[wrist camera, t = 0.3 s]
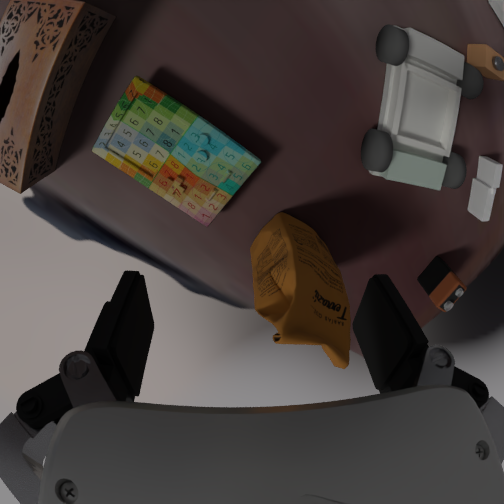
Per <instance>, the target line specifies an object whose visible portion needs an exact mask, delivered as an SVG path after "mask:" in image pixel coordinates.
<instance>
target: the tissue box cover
mask: <svg viewBox="0 0 504 504" xmlns="http://www.w3.org/2000/svg"><path fill="white" fill-rule="evenodd" d="M115 18H116V16H114V15H112V14H110V13H108V12H106V11H103V10H101V9H99V8H97V7H95V6H93V5H90V4H88V3H86V2H81V1H75V0H11V1H10V2H9V4H8V6H7V8H6V11H5V13H4V15H3V17H2V19H1V21H0V183H2V184H3V185H5V186H7V187H9V188H11V189H12V190H14V191H16V192H18V193H20V194H21V193H22V192H24V191H25V190H27V189H28V188H30V187H31V186H32V185H34V184H35V183H37V182H38V181H40V180H41V179H43V178H44V177H46V176H48V175H49V174H51V173H52V172H54V171H55V168H56V164H57V160H58V156H59V152H60V149H61V145H62V142H63V138H64V135H65V132H66V128H67V125H68V122H69V119H70V116H71V113H72V111H73V108H74V105H75V102H76V100H77V97H78V94H79V92H80V89H81V87H82V84H83V82H84V80H85V77H86V75H87V73H88V70H89V68H90V66H91V64H92V62H93V59H94V57H95V55H96V53H97V51H98V49H99V47H100V45H101V43H102V41H103V39H104V38H105V36H106V34H107V32H108V30H109V28H110V27H111V25H112V23H113V21H114V20H115Z"/></svg>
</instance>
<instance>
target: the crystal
mask: <svg viewBox="0 0 504 504" xmlns="http://www.w3.org/2000/svg"><path fill="white" fill-rule="evenodd" d="M488 1H489V4H490V5H491V7H492V8H493V10H494V12H495V13H496V15H497V16H498V18H499V20H500V22H501V23H502V25H503V27H504V0H488Z"/></svg>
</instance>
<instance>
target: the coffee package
mask: <svg viewBox="0 0 504 504" xmlns="http://www.w3.org/2000/svg"><path fill="white" fill-rule="evenodd" d="M250 252H251V258H252V259H251V262H252V268H253V274H252V275H253V288H254V295H255V297H254V301H255V310H256V311H257V312H258V314H259V315H261V316H262V317H263V318H265V319H266V320H268V321H269V322H271V323H272V324H273V325H274V326H275V327H276V328H277V330H278V333H276V334H275V335H273V340H274V342H275V343H278V344H307V345H322V348H323V350H324V351H325V353H326V354H327V355H328V357H329V358H330V360H331V361H332V363H333V365H334V366H336V367H339V368H342V369H345V368H346V367H347V366H348V365H349V350H350V340H351V339H350V322H351V319H350V305H349V301H348V297H347V294H346V290H345V286H344V283H343V280H342V276H341V272H340V270H339V268H338V267H337V265H336V264H335V262H334V260H333V259H332V256H331V254H330V252H329V250H328V248H327V246H326V244H325V243H324V241H323V240H321V239H320V238H319V236H318V235H317V233H316V232H315V231H314V230H313V229H312V228H311V227H309V226H308V225H306V224H305V223H303V222H301V221H300V220H298V219H295V218H294V217H292V216H290V215H288V214H286V213H283V212H280V213H278V214H276V215H275V216H274V217H273V219H272V220H271V221H269V222H268V223H267V224H266V225H265V226H264V227H263V228H262V229H261V231H260V232H259V234H258V236H257V237H256V238H255V240H254V242H253V244H252V246H251V248H250Z"/></svg>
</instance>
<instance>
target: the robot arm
mask: <svg viewBox="0 0 504 504" xmlns="http://www.w3.org/2000/svg"><path fill="white" fill-rule="evenodd" d="M153 331H154V320H153V316H152V312H151V307H150V303H149V298H148V294H147V288H146V283H145V279H144V275H140V273H139V271H124V273H123V275H122V277H121V279H120V281H119V284H118V286H117V288H116V290H115V292H114V294H113V297H112V299H111V301H110V302H108V301H107V302H106V303H105V304H104V306H103V309H102V310H101V313H100V315H99V317H98V320H97V322H96V324H95V327H94V329H93V331H92V334H91V336H90V338H89V341H88V343H87V346H86V348H85V351H74V352H71V353H69V354H68V355H66V356H65V357H64V358H63V359H62V361H61V363H60V366H59V372H60V373H59V374H57V375H55V376H54V377H52V378H50V379H48V380H46V381H45V382H43V383H41V384H39V385H38V386H36V387H34V388H32V389H30V390H28V391H26V392H25V393H23V394H22V395H21V396H20V398H19V399H18V402H17V406H16V410H17V411H16V413H14V414H13V413H12V412H11V413H10V414H9V415H8V416H7V417H6V418H5V419H4V420H3V422H2V423H1V424H0V477H1V479H2V480H3V482H4V483H5V484H6V486H7V487H8V488H9V490H10V491H11V492H12V494H13V495H14V496H15V497H16V499H17V500H18V501H19V502H20V504H504V472H503V469H502V465H501V463H502V462H503V460H504V407H503V406H502V405H501V404H500V403H499V402H498V401H497V400H495V399H494V398H493V397H490V398H489V392H488V389H487V387H486V385H485V384H484V382H482V381H481V380H480V379H478V378H476V377H474V376H472V375H470V374H468V373H466V372H464V371H462V370H461V369H458V368H457V367H455V366H454V365H455V361H454V357H453V355H452V354H451V352H450V351H449V350H448V349H447V348H445V347H443V346H440V345H433V346H430V347H429V346H428V345H427V343H428V340H427V338H426V336H425V335H424V333H423V331H422V329H421V328H420V326H419V324H418V323H417V321H416V319H415V318H414V316H413V314H412V313H411V311H410V309H409V308H408V306H407V304H406V303H405V301H404V300H403V298H402V296H401V295H400V293H399V292H398V290H397V289H396V287H395V286H394V284H393V283H392V281H391V279H390V278H389V276H388V275H386V274H378V275H374V276H373V277H372V278H370V279H369V281H368V284H367V287H366V290H365V292H364V295H363V298H362V300H361V303H360V306H359V308H358V311H357V313H356V316H355V318H354V321H353V331H354V333H355V335H356V338H357V341H358V343H359V346H360V348H361V351H362V353H363V356H364V358H365V361H366V364H367V366H368V369H369V372H370V374H371V377H372V380H373V382H374V385H375V387H376V389H378V390H379V391H380V394H376V395H371V396H365V397H359V398H353V399H346V400H339V401H331V402H322V403H313V404H304V405H290V406H274V407H239V408H238V407H236V408H227V407H226V408H225V407H192V406H176V405H162V404H151V403H138V402H134V399H135V396H139V394H140V389H141V384H142V379H143V374H144V370H145V365H146V361H147V356H148V352H149V348H150V344H151V339H152V335H153ZM45 456H46V459H45V463H44V468H43V460H44V458H45Z"/></svg>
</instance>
